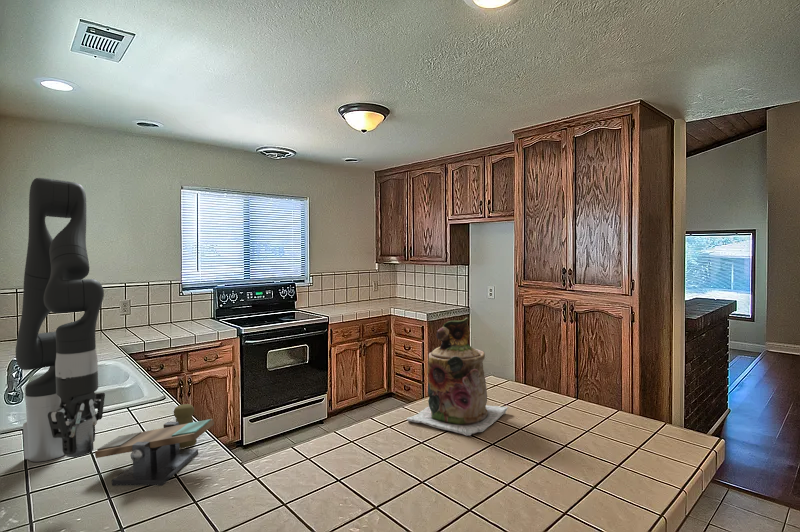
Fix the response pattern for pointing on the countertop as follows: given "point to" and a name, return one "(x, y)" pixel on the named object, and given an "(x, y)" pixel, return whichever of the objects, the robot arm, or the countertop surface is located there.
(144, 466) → the seesaw stand
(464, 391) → the cookie jar
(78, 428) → the cylinder
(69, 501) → the countertop surface
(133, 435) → the beam
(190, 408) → the olive brown waisted cylinder
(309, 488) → the countertop surface
